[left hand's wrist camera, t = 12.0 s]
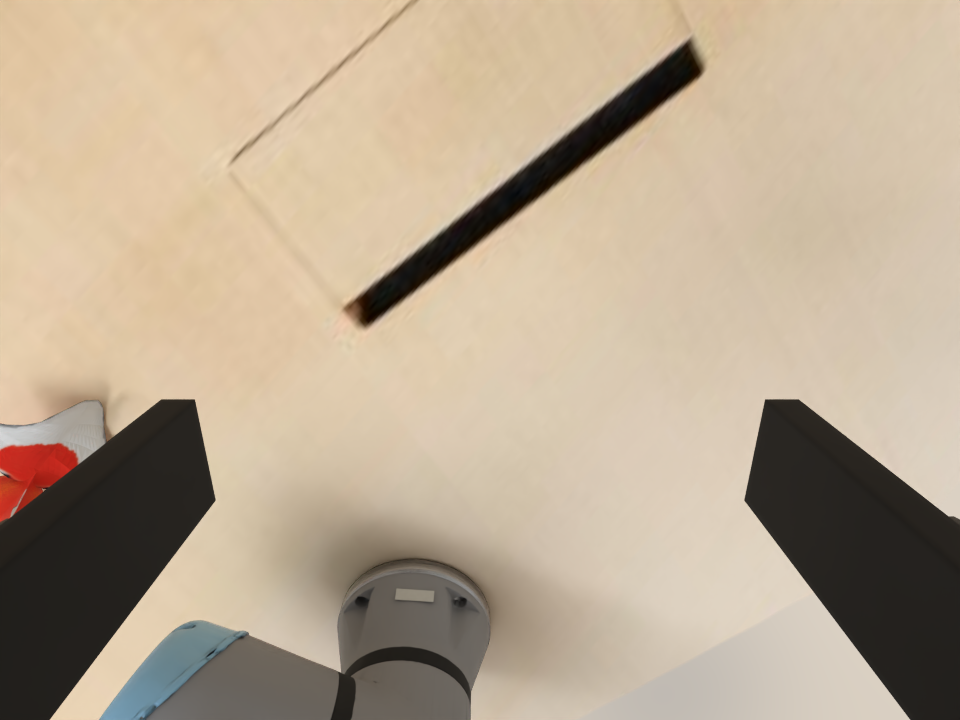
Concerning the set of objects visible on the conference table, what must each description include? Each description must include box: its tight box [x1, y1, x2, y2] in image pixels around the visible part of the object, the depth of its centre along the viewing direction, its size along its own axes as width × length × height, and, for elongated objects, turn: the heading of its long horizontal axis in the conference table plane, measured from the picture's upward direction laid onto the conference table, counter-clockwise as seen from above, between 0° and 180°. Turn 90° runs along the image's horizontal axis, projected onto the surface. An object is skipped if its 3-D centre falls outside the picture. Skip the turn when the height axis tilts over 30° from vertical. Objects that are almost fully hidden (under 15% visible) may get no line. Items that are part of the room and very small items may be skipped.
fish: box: [0, 400, 107, 522], centre depth 45 cm, size 11×16×10 cm
